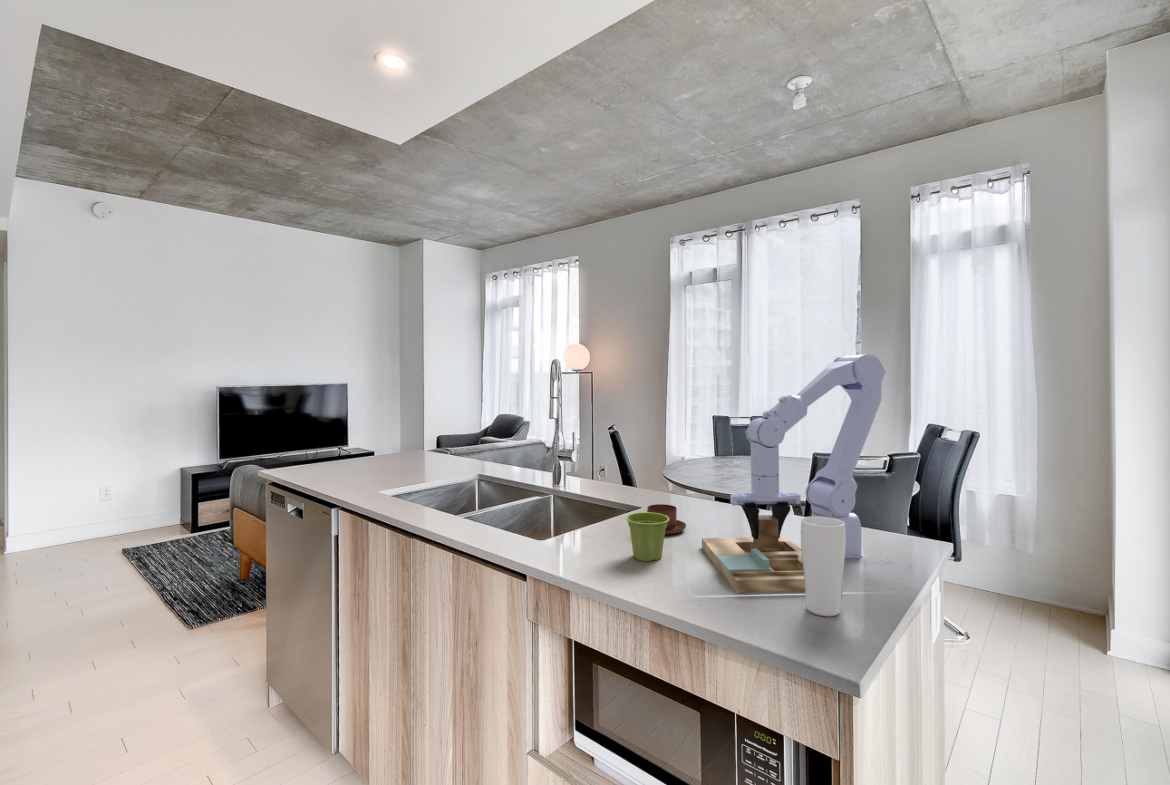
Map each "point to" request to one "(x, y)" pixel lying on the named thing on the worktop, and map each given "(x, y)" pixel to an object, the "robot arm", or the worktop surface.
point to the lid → (745, 562)
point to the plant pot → (647, 534)
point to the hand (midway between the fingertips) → (765, 537)
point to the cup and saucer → (671, 512)
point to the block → (767, 532)
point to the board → (780, 578)
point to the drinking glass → (823, 563)
